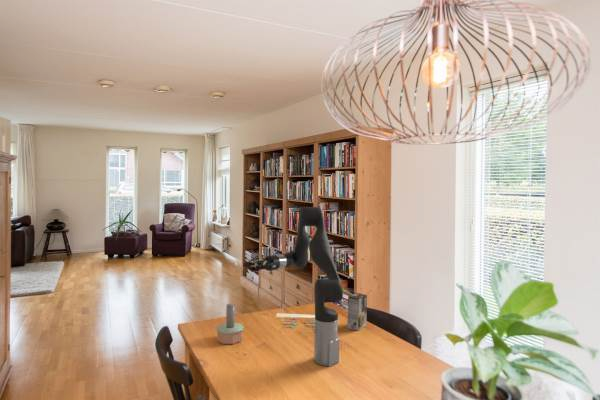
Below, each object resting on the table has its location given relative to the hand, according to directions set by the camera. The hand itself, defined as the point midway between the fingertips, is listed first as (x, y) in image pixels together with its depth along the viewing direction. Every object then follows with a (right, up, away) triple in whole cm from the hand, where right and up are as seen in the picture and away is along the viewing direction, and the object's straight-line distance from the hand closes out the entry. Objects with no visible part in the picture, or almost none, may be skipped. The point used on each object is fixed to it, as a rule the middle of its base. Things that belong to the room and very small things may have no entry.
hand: (250, 266), depth 187 cm
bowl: (-8, -32, -7) cm, 34 cm away
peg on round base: (-8, -27, -7) cm, 29 cm away
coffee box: (+52, -33, +13) cm, 63 cm away
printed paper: (+24, -33, +16) cm, 44 cm away
